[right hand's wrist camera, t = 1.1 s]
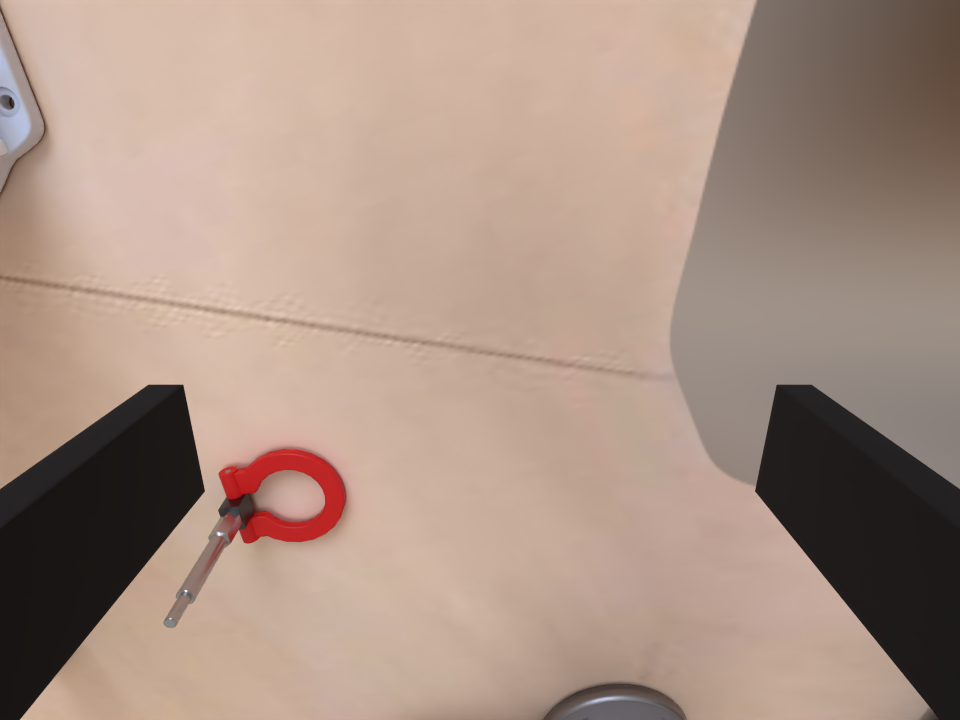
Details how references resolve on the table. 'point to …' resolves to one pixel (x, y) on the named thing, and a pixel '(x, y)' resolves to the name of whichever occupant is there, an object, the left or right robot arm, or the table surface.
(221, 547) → the tow hook
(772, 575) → the table surface
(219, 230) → the table surface
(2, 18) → the left robot arm
